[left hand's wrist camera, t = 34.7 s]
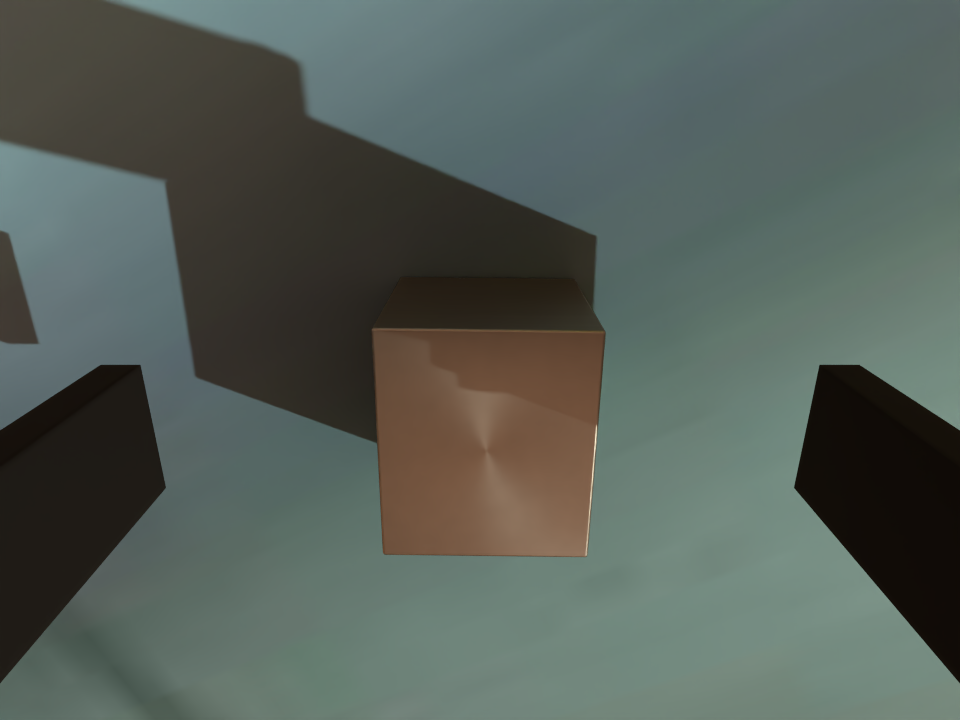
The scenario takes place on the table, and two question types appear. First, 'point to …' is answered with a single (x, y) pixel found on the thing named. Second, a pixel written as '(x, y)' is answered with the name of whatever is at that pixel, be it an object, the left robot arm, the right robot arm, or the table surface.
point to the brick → (487, 416)
